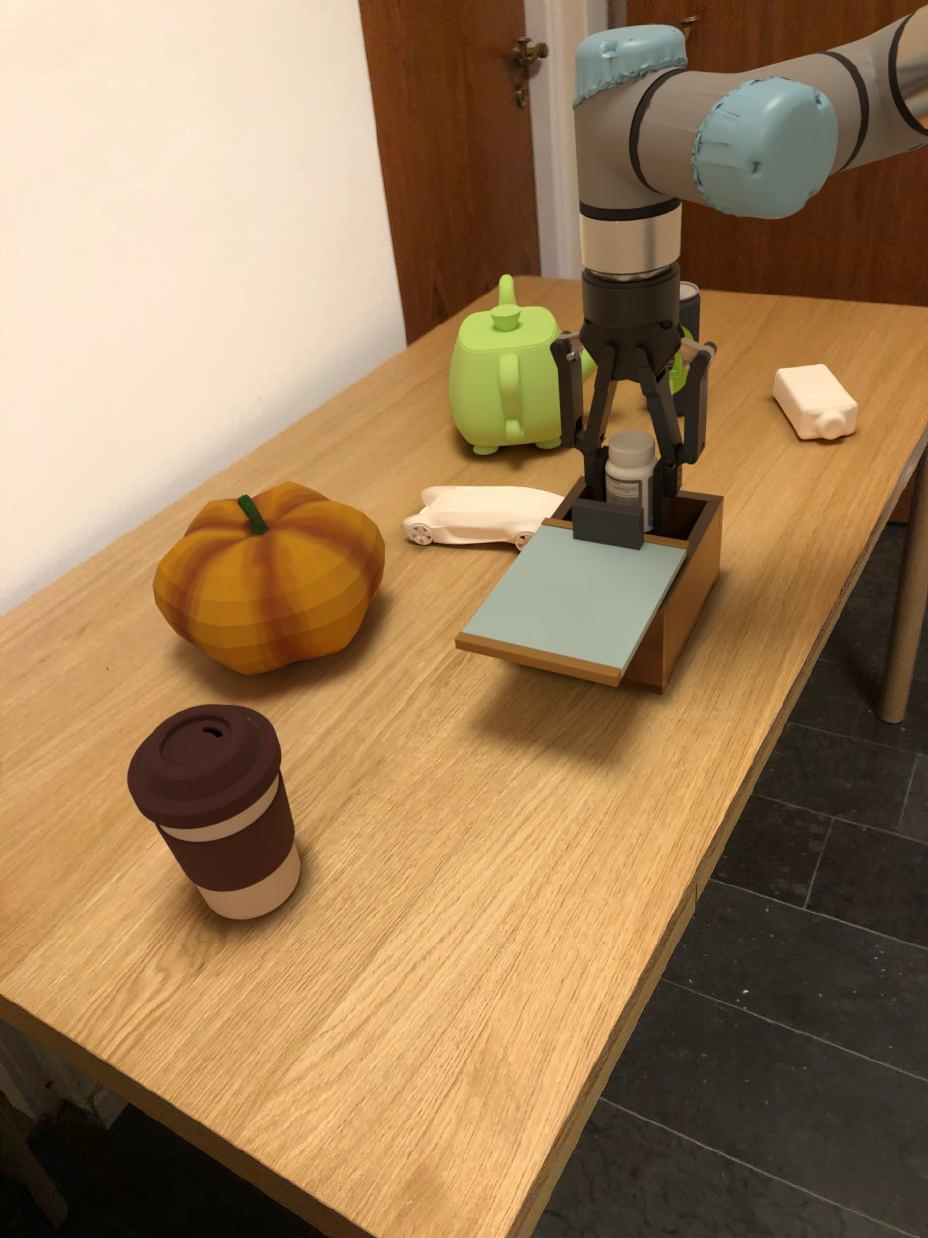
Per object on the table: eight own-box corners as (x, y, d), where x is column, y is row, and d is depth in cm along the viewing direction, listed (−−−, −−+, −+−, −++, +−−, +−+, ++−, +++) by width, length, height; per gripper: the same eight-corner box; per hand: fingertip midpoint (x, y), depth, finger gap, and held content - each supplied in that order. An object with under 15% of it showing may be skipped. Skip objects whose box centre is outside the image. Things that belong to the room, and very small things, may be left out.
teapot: (634, 463, 112) (633, 332, 102) (451, 480, 114) (433, 353, 104) (612, 372, 131) (610, 255, 122) (456, 388, 133) (441, 274, 123)
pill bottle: (641, 502, 90) (641, 422, 85) (669, 525, 87) (670, 443, 82) (597, 518, 89) (594, 437, 84) (623, 542, 86) (622, 459, 80)
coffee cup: (202, 962, 66) (129, 821, 57) (175, 859, 74) (108, 720, 64) (336, 903, 69) (288, 758, 59) (298, 809, 76) (250, 668, 67)
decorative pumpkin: (145, 697, 89) (87, 566, 80) (240, 560, 106) (201, 438, 96) (349, 714, 84) (312, 576, 75) (415, 567, 100) (392, 439, 91)
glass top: (689, 550, 81) (690, 507, 79) (617, 687, 69) (616, 641, 67) (545, 526, 87) (542, 485, 84) (455, 648, 75) (448, 605, 72)
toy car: (401, 544, 104) (395, 508, 101) (426, 505, 110) (420, 471, 107) (563, 558, 99) (560, 521, 96) (580, 517, 104) (578, 481, 101)
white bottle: (802, 449, 110) (806, 415, 107) (771, 399, 120) (774, 367, 117) (859, 442, 110) (865, 408, 107) (824, 393, 120) (828, 361, 117)
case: (719, 575, 93) (724, 495, 88) (662, 695, 81) (663, 612, 76) (584, 551, 99) (580, 475, 94) (512, 659, 87) (503, 580, 82)
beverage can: (703, 413, 119) (708, 294, 110) (654, 421, 119) (655, 303, 110) (687, 392, 124) (690, 276, 115) (640, 400, 124) (640, 285, 115)
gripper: (760, 251, 72) (741, 513, 87) (542, 243, 80) (558, 485, 94) (734, 287, 67) (718, 559, 82) (504, 275, 75) (527, 526, 89)
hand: (632, 519), depth 88 cm, fingers closed on pill bottle, 5 cm apart
